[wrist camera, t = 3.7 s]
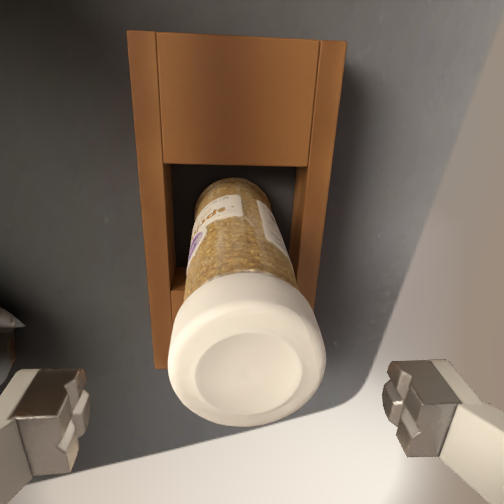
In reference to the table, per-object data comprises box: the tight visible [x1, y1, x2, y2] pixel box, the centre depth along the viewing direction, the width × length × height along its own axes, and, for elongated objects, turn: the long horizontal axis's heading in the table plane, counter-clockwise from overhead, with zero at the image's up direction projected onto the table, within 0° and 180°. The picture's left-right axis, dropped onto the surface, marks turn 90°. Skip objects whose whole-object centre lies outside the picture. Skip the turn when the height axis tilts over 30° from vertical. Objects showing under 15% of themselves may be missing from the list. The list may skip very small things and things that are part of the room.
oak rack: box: [126, 30, 347, 369], centre depth 21 cm, size 9×18×3 cm, turn 178°
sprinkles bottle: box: [168, 177, 326, 427], centre depth 17 cm, size 5×5×13 cm
